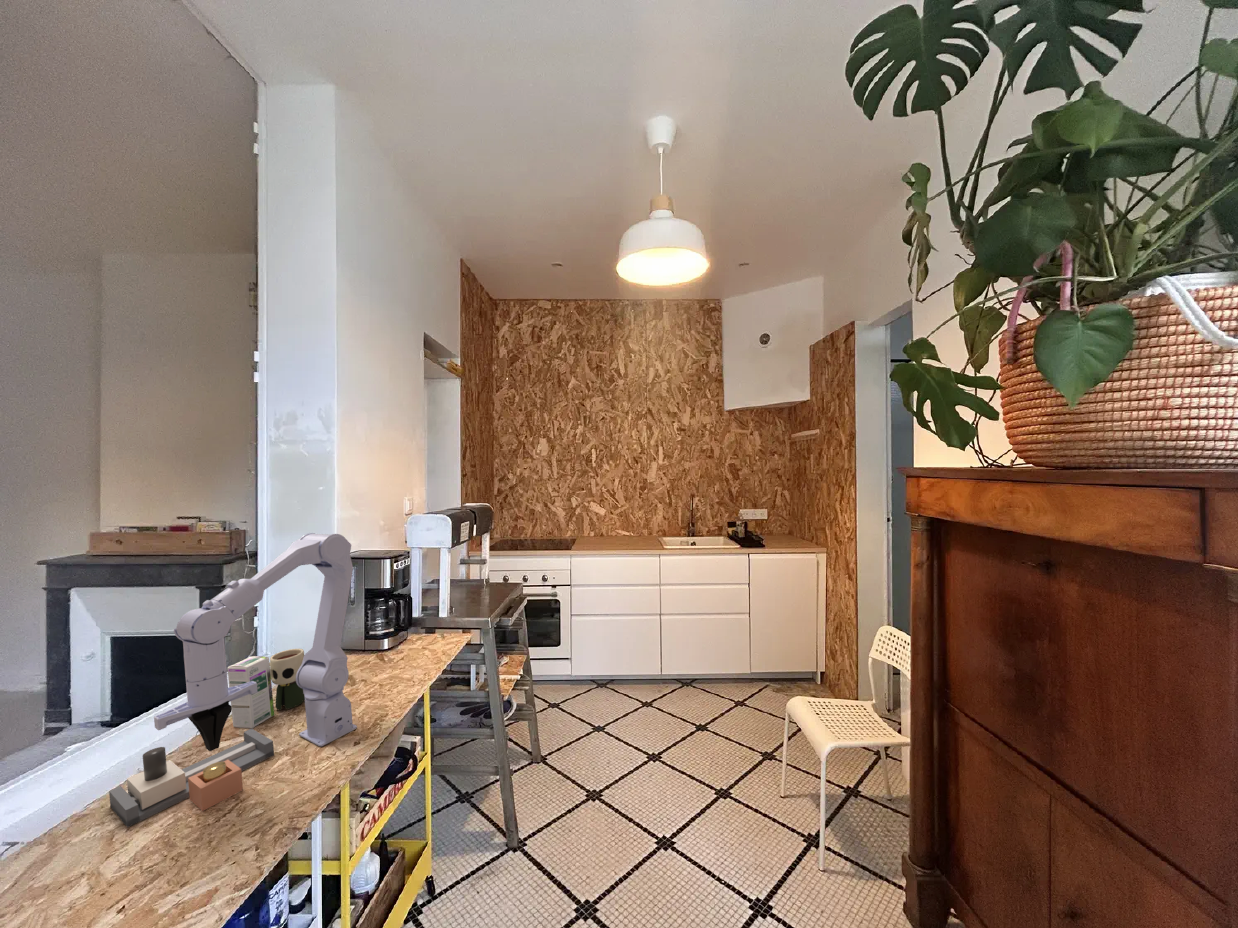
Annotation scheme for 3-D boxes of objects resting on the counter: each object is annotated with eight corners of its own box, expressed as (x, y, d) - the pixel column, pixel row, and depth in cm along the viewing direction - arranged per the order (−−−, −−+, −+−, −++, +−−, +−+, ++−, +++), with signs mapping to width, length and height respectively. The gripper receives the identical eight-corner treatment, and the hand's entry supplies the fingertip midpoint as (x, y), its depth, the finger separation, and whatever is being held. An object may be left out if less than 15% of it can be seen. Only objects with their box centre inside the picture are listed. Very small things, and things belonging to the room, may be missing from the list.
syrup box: (252, 728, 112) (247, 666, 112) (231, 727, 113) (226, 665, 113) (275, 715, 118) (270, 655, 117) (254, 714, 119) (249, 655, 118)
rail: (274, 754, 101) (272, 740, 101) (127, 827, 83) (125, 810, 83) (252, 741, 107) (251, 728, 107) (110, 807, 88) (109, 790, 88)
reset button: (229, 780, 90) (228, 764, 90) (208, 791, 88) (206, 774, 88) (222, 774, 92) (221, 759, 92) (201, 785, 89) (200, 769, 89)
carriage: (186, 788, 90) (183, 748, 90) (142, 809, 85) (138, 767, 85) (171, 774, 94) (167, 737, 94) (128, 794, 89) (124, 754, 89)
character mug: (258, 715, 118) (254, 662, 118) (276, 700, 125) (273, 650, 125) (305, 710, 119) (301, 658, 119) (321, 696, 126) (317, 646, 126)
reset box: (243, 789, 91) (241, 768, 91) (202, 810, 86) (200, 788, 86) (229, 779, 94) (227, 759, 94) (189, 799, 89) (187, 777, 89)
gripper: (244, 655, 98) (249, 722, 98) (145, 687, 85) (152, 763, 86) (260, 662, 94) (265, 731, 94) (159, 696, 82) (166, 776, 82)
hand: (212, 747), depth 90 cm, fingers closed
